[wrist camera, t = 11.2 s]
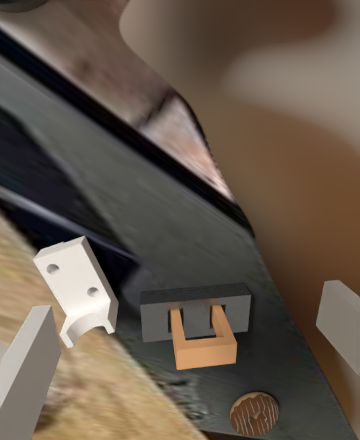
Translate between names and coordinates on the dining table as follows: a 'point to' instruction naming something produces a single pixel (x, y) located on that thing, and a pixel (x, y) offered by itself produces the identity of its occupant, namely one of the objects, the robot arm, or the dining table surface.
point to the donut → (254, 414)
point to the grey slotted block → (193, 310)
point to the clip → (204, 342)
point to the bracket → (78, 288)
